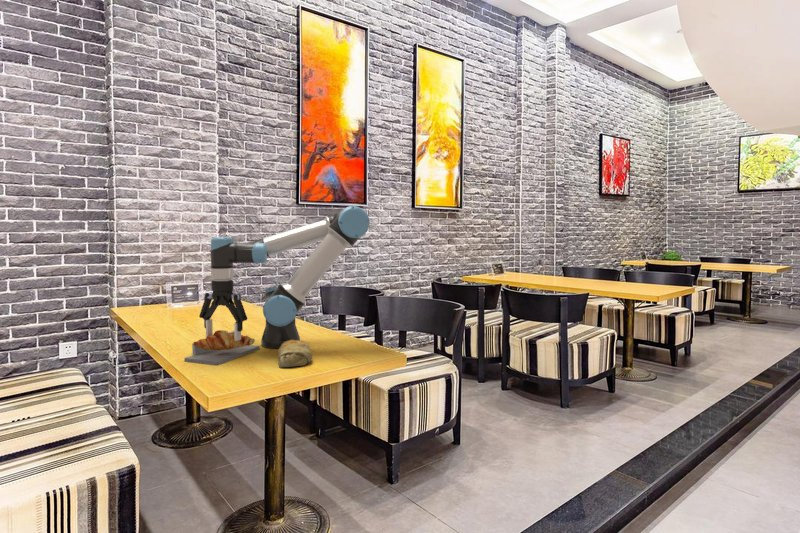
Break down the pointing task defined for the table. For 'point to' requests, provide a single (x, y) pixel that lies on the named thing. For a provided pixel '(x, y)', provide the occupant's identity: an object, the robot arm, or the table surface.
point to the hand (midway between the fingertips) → (223, 338)
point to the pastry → (294, 354)
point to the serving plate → (220, 355)
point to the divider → (198, 350)
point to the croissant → (223, 341)
